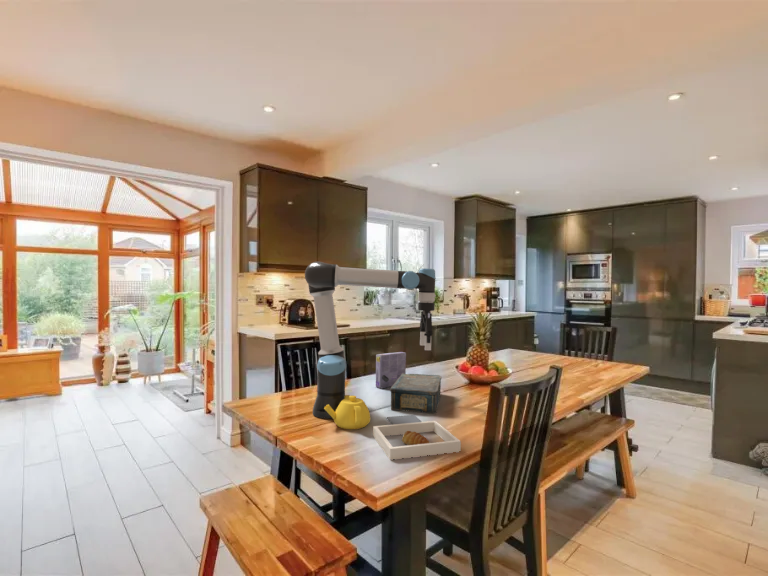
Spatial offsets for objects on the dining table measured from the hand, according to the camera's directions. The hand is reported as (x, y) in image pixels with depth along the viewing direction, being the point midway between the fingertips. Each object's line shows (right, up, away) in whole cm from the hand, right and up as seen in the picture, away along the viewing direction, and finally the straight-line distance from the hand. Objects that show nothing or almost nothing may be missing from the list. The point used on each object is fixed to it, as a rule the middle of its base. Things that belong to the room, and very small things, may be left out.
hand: (425, 347), depth 185 cm
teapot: (-34, -26, -29) cm, 51 cm away
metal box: (-3, -26, +3) cm, 27 cm away
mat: (-11, -26, -26) cm, 38 cm away
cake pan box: (-15, -25, +31) cm, 43 cm away
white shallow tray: (-8, -26, -47) cm, 54 cm away
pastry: (-8, -27, -47) cm, 54 cm away
